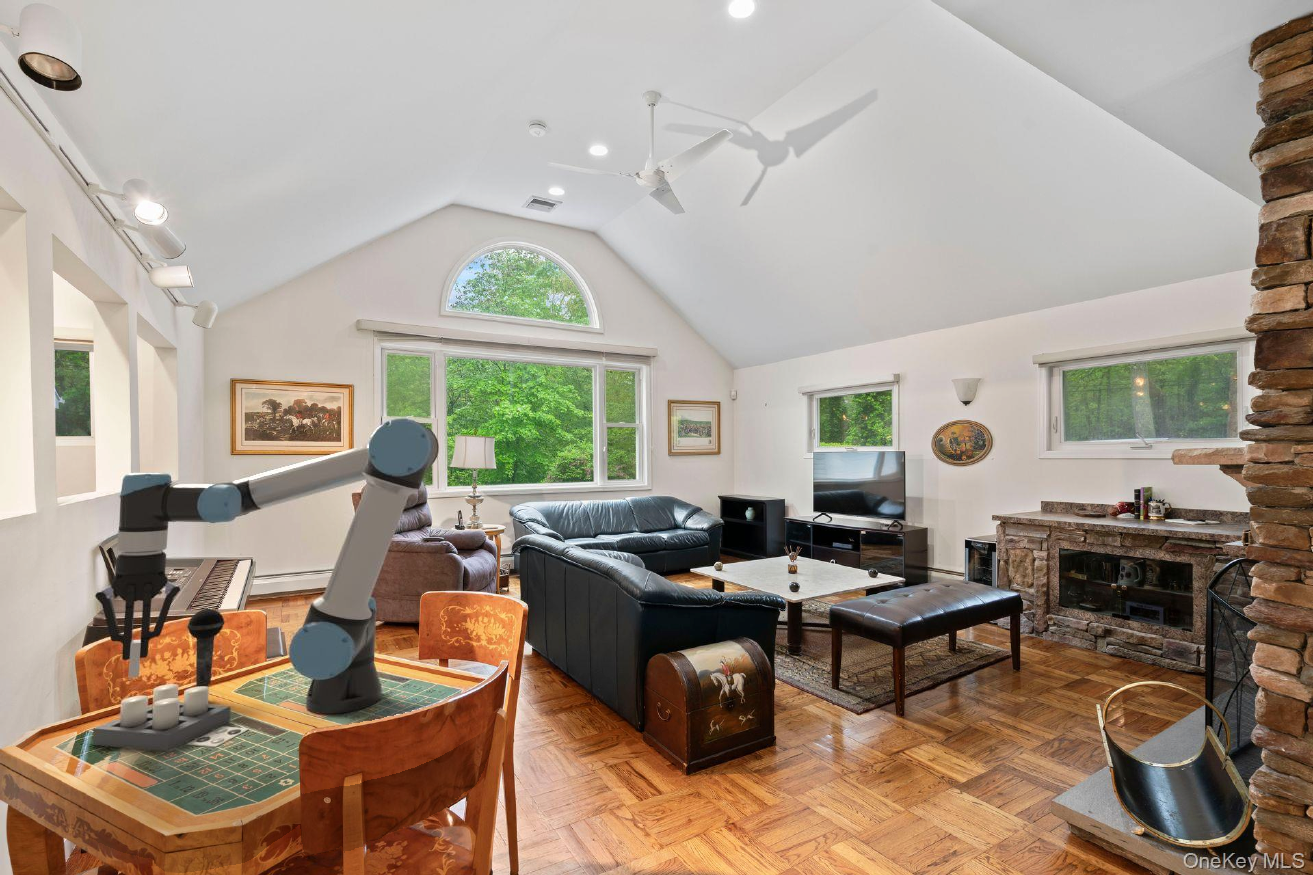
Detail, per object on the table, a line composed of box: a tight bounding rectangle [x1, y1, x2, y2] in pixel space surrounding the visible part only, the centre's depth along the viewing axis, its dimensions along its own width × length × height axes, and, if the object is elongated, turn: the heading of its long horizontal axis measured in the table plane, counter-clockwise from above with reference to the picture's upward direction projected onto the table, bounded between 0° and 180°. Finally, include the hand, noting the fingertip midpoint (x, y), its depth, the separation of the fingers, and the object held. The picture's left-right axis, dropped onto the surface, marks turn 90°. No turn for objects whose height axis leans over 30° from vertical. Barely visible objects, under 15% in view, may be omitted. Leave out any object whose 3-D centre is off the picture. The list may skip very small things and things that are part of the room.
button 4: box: [183, 686, 210, 717], centre depth 126 cm, size 4×4×4 cm
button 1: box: [119, 695, 149, 728], centre depth 121 cm, size 4×4×4 cm
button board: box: [92, 701, 232, 752], centre depth 123 cm, size 16×14×3 cm
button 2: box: [152, 683, 179, 713], centre depth 127 cm, size 4×4×4 cm
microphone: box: [186, 608, 225, 687], centre depth 141 cm, size 7×7×20 cm
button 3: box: [152, 697, 181, 730], centre depth 120 cm, size 4×4×4 cm
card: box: [186, 725, 250, 748], centre depth 122 cm, size 6×8×1 cm
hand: (133, 675), depth 121 cm, fingers closed
